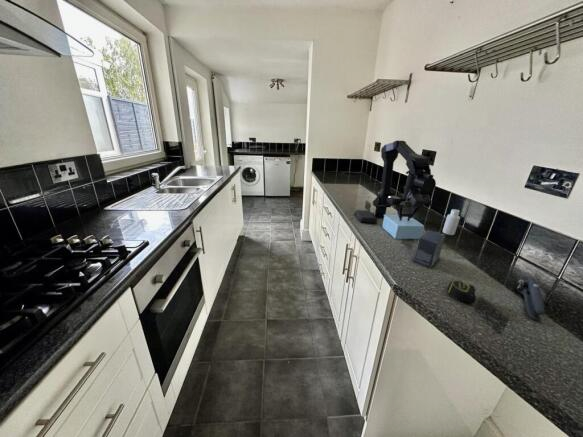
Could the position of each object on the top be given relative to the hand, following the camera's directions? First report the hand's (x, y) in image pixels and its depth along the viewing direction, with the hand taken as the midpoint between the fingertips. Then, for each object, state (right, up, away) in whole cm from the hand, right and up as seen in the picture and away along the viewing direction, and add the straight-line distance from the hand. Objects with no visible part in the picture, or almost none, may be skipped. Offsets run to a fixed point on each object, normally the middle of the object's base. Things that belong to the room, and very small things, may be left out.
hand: (404, 218), depth 109 cm
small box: (-2, -17, -20) cm, 26 cm away
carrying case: (-12, -1, +19) cm, 23 cm away
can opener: (+17, -26, -41) cm, 51 cm away
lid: (0, -2, +2) cm, 2 cm away
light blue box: (0, -7, +4) cm, 8 cm away
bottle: (+25, -7, +6) cm, 26 cm away
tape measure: (-2, -24, -39) cm, 46 cm away
